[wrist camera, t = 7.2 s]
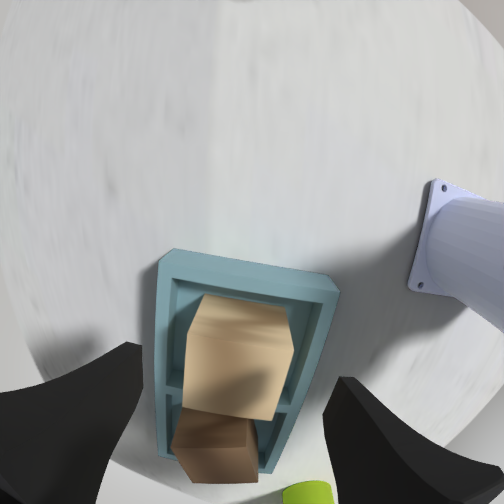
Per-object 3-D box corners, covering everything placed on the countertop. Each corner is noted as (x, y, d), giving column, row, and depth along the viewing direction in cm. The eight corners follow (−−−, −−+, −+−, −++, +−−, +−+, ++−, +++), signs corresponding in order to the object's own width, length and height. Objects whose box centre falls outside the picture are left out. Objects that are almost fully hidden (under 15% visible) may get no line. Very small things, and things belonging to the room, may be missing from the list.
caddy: (328, 275, 18) (340, 292, 15) (270, 450, 23) (271, 473, 20) (173, 248, 18) (158, 260, 15) (165, 433, 22) (158, 455, 19)
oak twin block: (284, 306, 18) (294, 350, 13) (268, 370, 19) (271, 420, 14) (205, 293, 18) (187, 333, 13) (197, 358, 19) (182, 406, 14)
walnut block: (248, 396, 20) (246, 446, 15) (258, 436, 21) (258, 482, 16) (184, 400, 20) (170, 447, 15) (201, 439, 21) (192, 482, 16)
